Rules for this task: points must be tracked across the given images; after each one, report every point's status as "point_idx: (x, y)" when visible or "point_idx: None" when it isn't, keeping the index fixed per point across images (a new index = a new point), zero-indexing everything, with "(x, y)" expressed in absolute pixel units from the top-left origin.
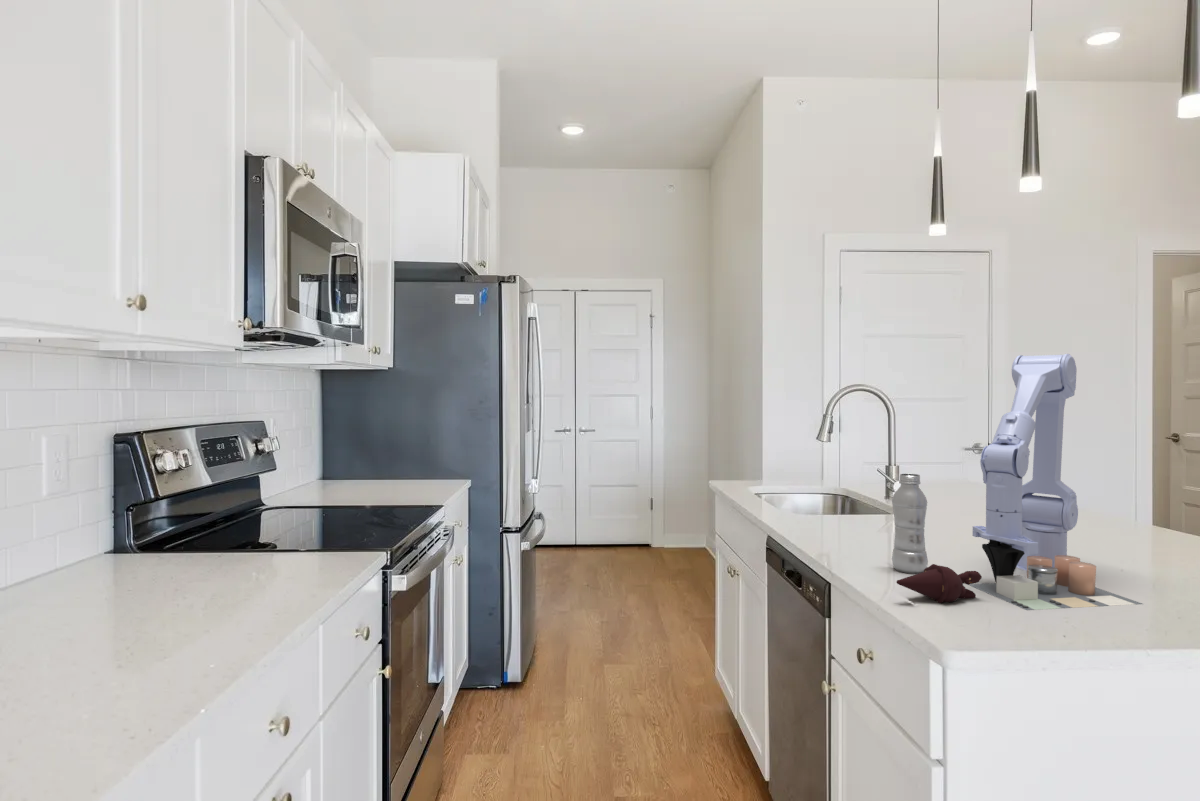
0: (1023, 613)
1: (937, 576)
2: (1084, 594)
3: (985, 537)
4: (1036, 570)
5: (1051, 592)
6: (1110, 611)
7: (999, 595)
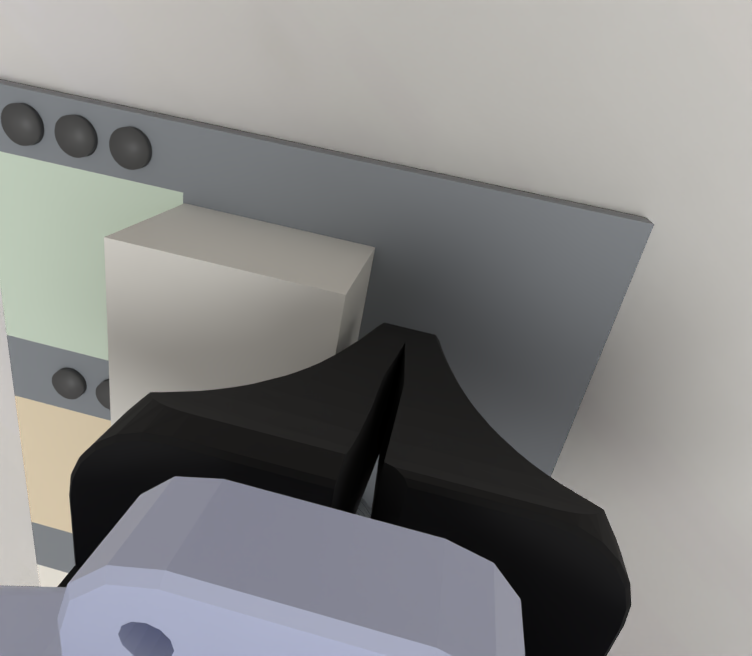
0: (2, 62)
1: None
2: None
3: (207, 512)
4: None
5: None
6: (22, 526)
7: (307, 202)
